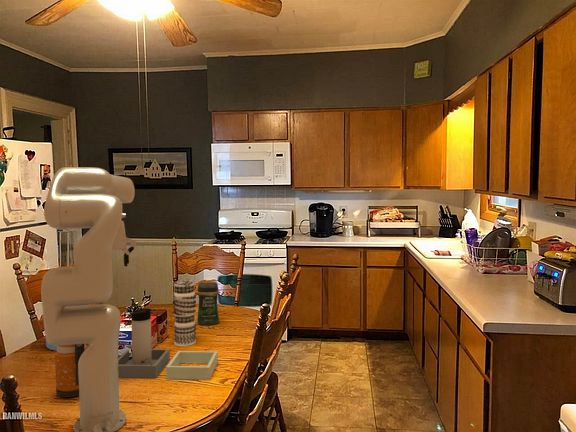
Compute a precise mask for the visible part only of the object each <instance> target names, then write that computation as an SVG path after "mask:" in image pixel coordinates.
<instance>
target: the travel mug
mask: <svg viewBox="0 0 576 432" xmlns="http://www.w3.org/2000/svg"><path fill="white" fill-rule="evenodd" d="M151 312H152V308H150V307H149V308H148V307H145V308H144V307H143V308H139V309H136V310H134V311H131V316H130V317H131V320H130V321H131V349H132V363H133V365H152V349H153V348H152V317H151Z"/></svg>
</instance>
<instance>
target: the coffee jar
mask: <svg viewBox="0 0 576 432" xmlns="http://www.w3.org/2000/svg"><path fill="white" fill-rule="evenodd" d="M218 284H219V283H218V282H216V281H215V282H200V283H198V286H197V291H196V293H197V296H198V307H197V308H198V310H197V324H198V325H199V326H207V325H208V326H209V325H210V326H211V325H216V324H218V323H219V322H220V319H219V317H220V316H219V306H218V296H219V291H220V290H219V285H218Z"/></svg>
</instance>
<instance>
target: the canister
mask: <svg viewBox="0 0 576 432" xmlns="http://www.w3.org/2000/svg"><path fill="white" fill-rule="evenodd" d="M87 347H88V346H87V344H76V345H66V346H57V351H55V352H54V365H55V366H54V367H55V368H54V369H55V371H54V372H55V388H56V389H55V392H56V395H57V396H59V397H65V398H70V397H71V398H72V397H76V396H79V374H78V362H79V359H80V356H81V355H82V353H83V352H84V351H85V349H86V348H87Z"/></svg>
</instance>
